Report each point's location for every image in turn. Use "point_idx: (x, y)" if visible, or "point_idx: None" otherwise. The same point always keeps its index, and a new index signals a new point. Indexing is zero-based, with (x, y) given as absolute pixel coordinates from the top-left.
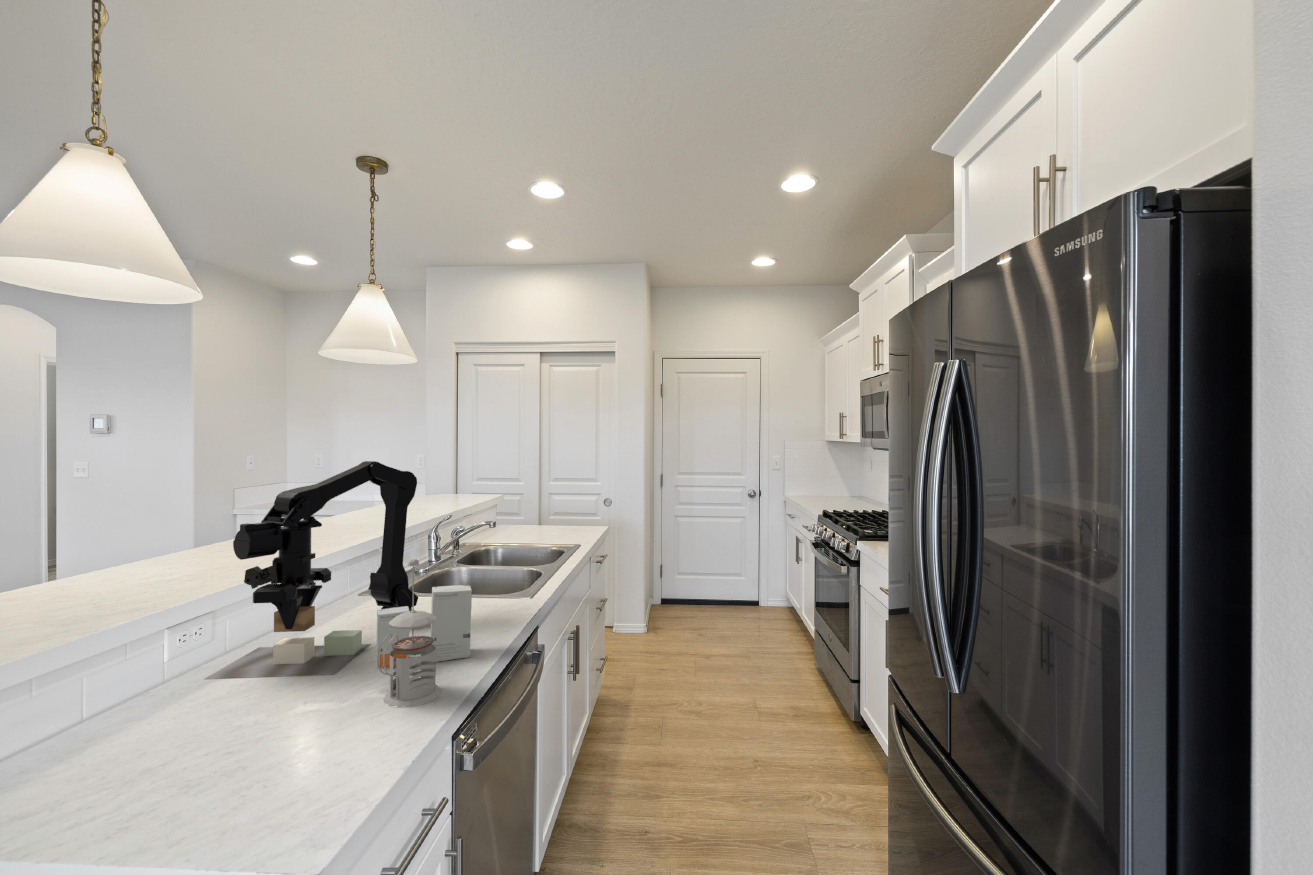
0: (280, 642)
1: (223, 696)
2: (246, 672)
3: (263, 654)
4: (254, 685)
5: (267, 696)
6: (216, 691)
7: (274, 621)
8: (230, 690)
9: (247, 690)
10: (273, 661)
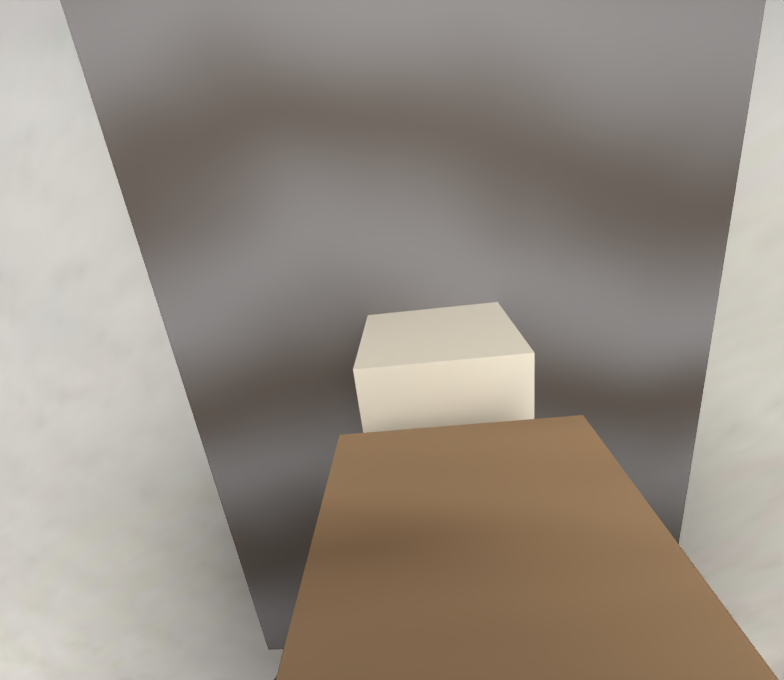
0: (413, 389)
1: (21, 284)
2: (225, 236)
3: (569, 92)
4: (170, 344)
5: (87, 478)
6: (53, 191)
7: (315, 540)
8: (87, 263)
9: (112, 352)
10: (366, 321)
